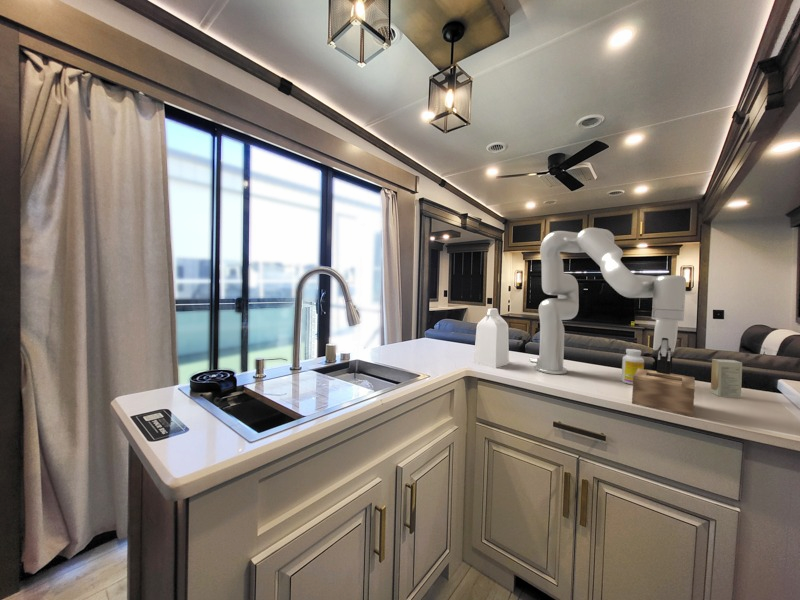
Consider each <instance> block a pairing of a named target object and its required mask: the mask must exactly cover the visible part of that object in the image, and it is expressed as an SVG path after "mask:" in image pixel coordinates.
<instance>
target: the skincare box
mask: <svg viewBox="0 0 800 600" xmlns="http://www.w3.org/2000/svg"><path fill="white" fill-rule="evenodd" d="M710 374H711V376H710V377H711V378H710V379H711V380H710V393H712V394H714V395H715V396H717V397H723V398H737V399H741V398H742V379H743V362H742V361H737V360H736V359H735V360H734V359H722V358H721V359H720V358H719V359H718V358H712V359H711V373H710Z"/></svg>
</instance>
